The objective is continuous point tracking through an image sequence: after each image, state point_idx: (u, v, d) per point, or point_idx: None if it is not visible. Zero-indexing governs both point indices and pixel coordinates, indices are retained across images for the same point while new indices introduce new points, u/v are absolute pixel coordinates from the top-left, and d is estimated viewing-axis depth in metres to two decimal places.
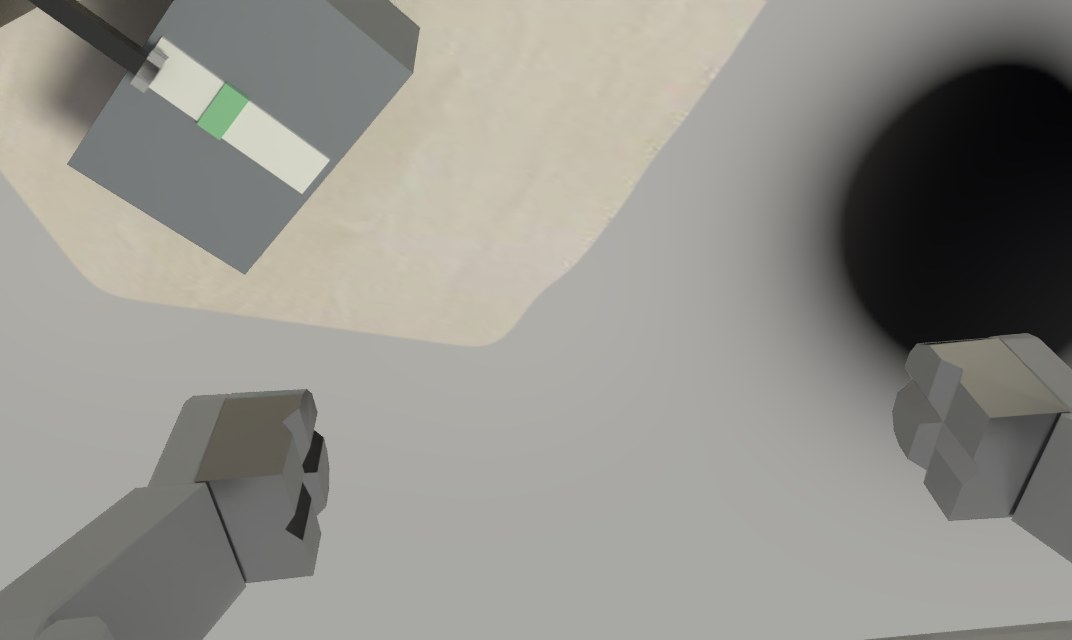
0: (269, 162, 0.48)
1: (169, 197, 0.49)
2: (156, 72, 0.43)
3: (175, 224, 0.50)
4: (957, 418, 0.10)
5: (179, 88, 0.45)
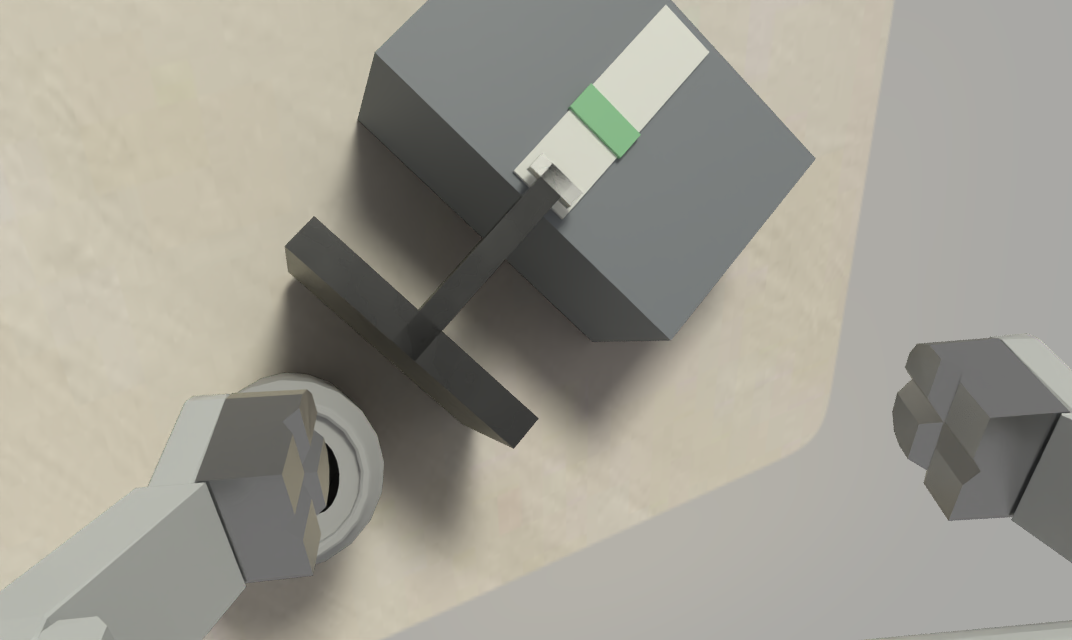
0: (668, 82, 0.36)
1: (713, 224, 0.37)
2: (557, 169, 0.33)
3: (748, 228, 0.37)
4: (956, 418, 0.10)
5: (576, 167, 0.35)
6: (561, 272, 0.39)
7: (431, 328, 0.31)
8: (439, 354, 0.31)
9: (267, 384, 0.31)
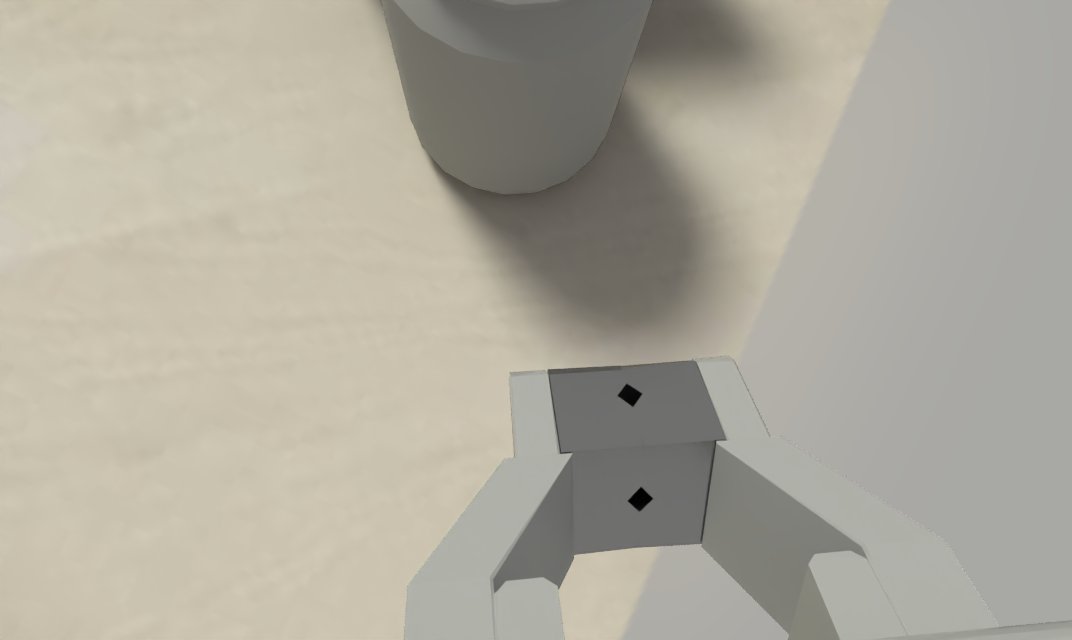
0: None
1: None
2: None
3: None
4: None
5: None
6: None
7: None
8: None
9: None
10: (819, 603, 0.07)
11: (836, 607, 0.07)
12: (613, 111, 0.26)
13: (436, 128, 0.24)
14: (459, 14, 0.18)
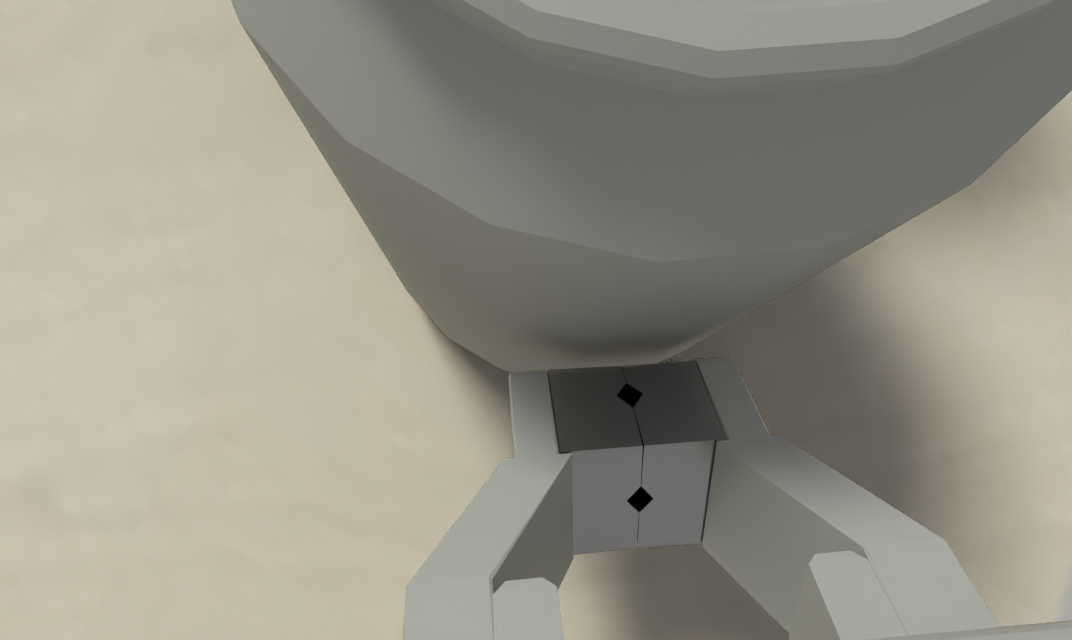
0: None
1: None
2: None
3: None
4: None
5: None
6: None
7: None
8: None
9: None
10: (819, 603, 0.07)
11: (836, 607, 0.07)
12: None
13: (427, 299, 0.11)
14: (486, 102, 0.05)
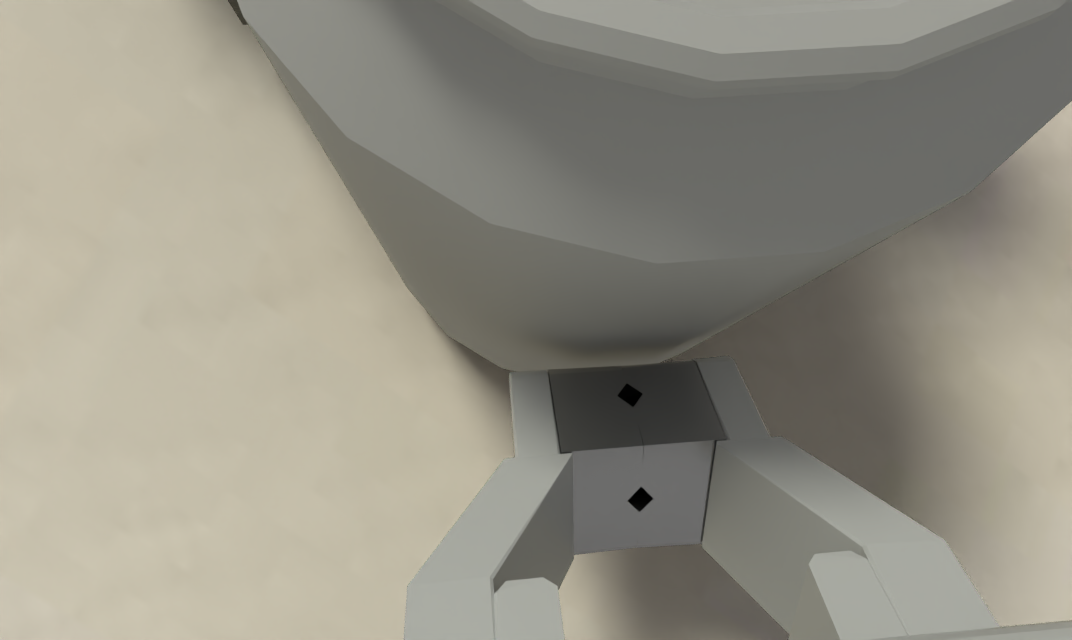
0: None
1: None
2: None
3: None
4: None
5: None
6: None
7: None
8: None
9: None
10: (819, 603, 0.07)
11: (836, 607, 0.07)
12: None
13: (427, 297, 0.11)
14: (487, 101, 0.05)
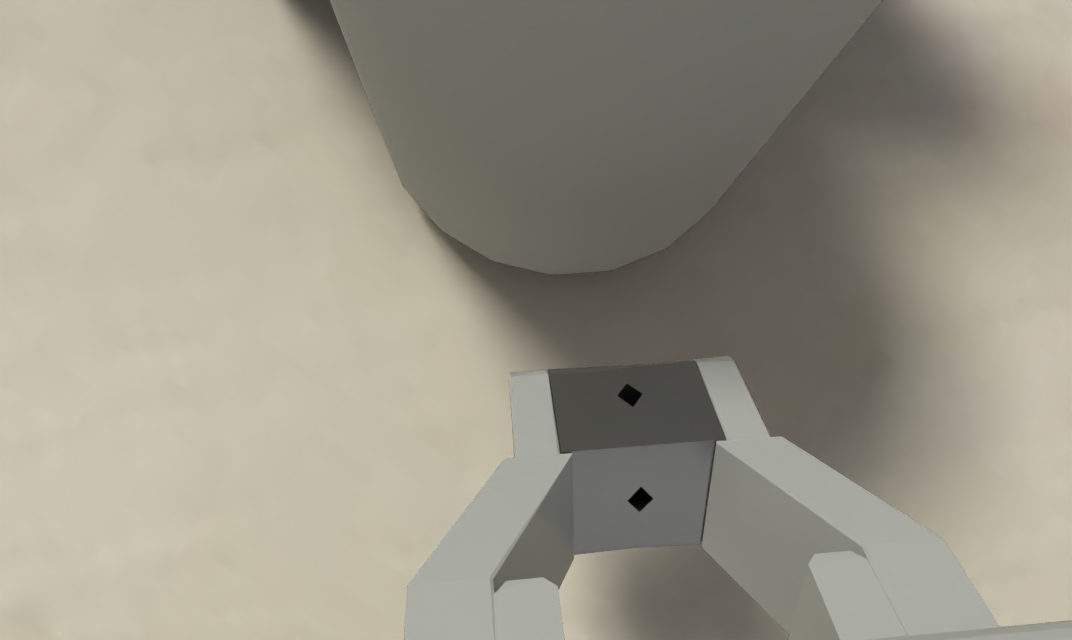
0: None
1: None
2: None
3: None
4: None
5: None
6: None
7: None
8: None
9: None
10: (819, 603, 0.07)
11: (836, 607, 0.07)
12: None
13: (420, 159, 0.12)
14: None
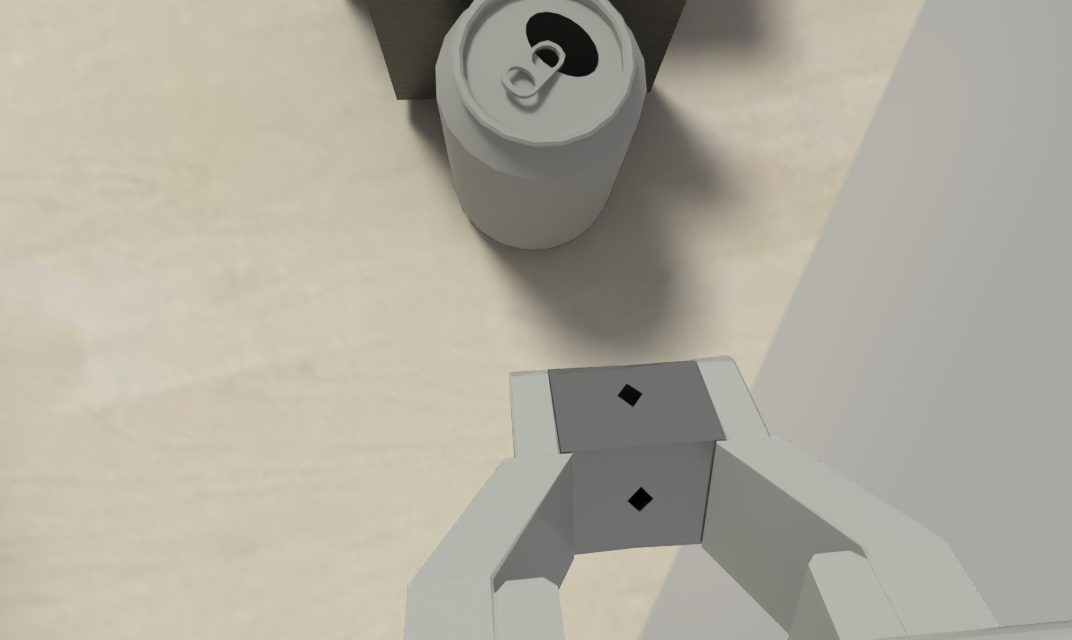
0: None
1: None
2: None
3: None
4: None
5: None
6: None
7: None
8: None
9: (456, 22, 0.28)
10: (819, 603, 0.07)
11: (836, 607, 0.07)
12: (609, 192, 0.34)
13: (475, 204, 0.33)
14: (497, 147, 0.26)
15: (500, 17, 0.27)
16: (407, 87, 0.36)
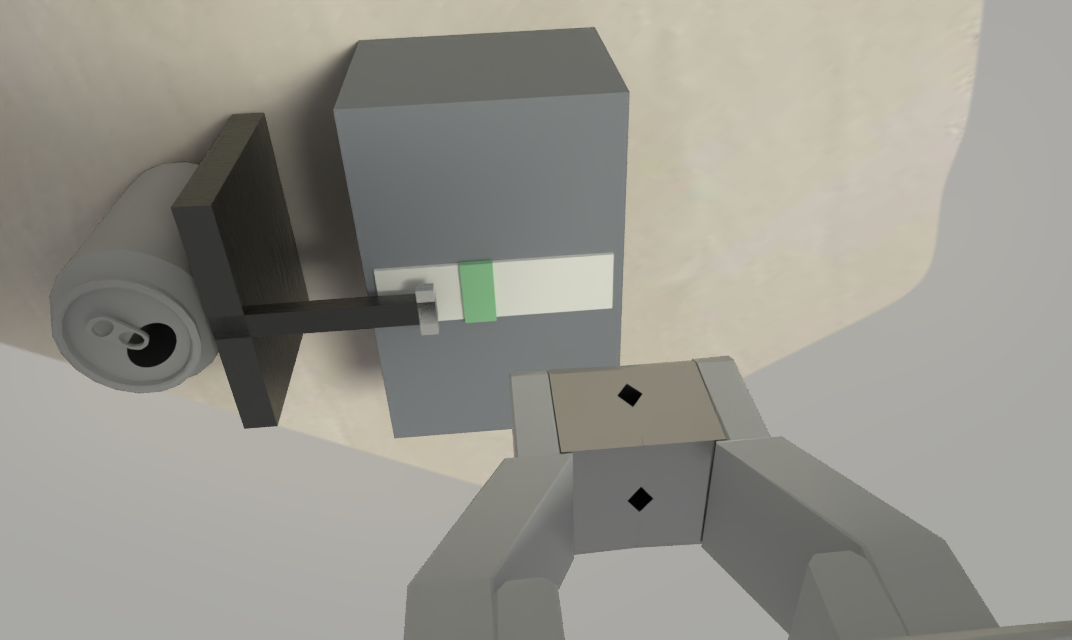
0: (557, 303, 0.37)
1: (496, 402, 0.41)
2: (434, 307, 0.35)
3: None
4: None
5: None
6: None
7: (244, 330, 0.35)
8: (237, 348, 0.36)
9: (168, 263, 0.34)
10: (819, 603, 0.07)
11: (836, 607, 0.07)
12: None
13: None
14: None
15: (161, 306, 0.34)
16: None
